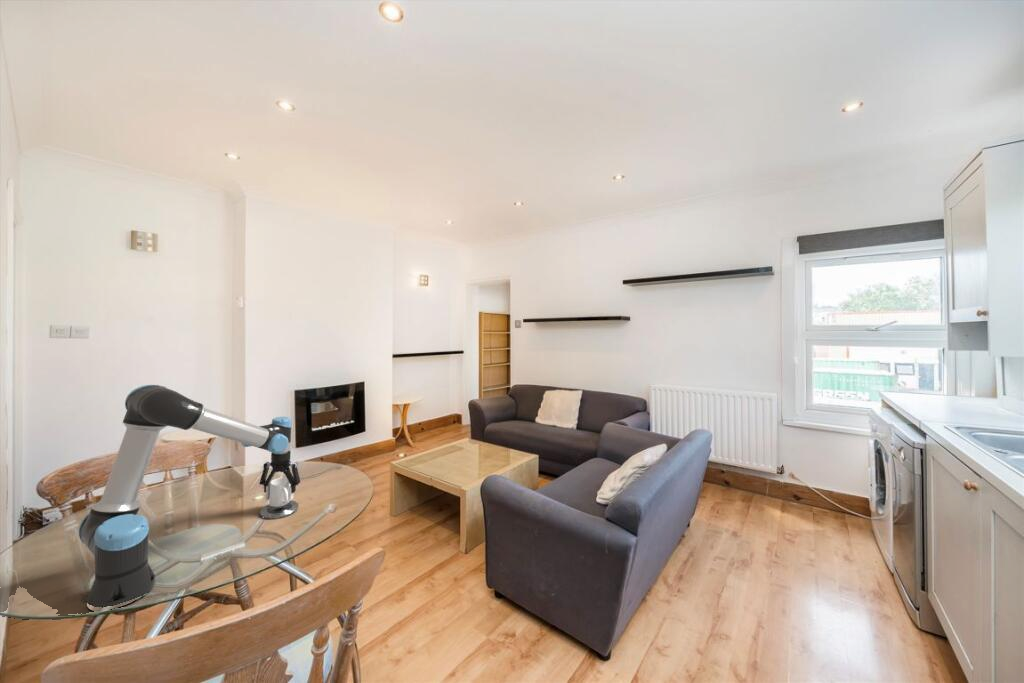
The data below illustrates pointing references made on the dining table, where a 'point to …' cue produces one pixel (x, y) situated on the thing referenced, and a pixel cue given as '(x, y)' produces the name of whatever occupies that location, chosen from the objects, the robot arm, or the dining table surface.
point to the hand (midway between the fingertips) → (279, 499)
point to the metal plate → (279, 510)
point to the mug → (279, 492)
